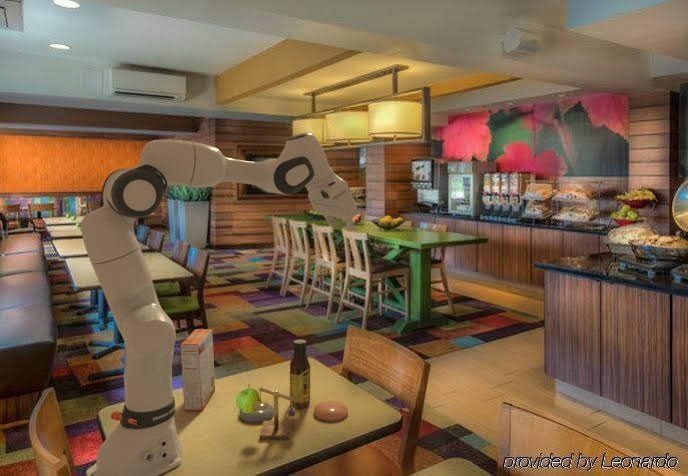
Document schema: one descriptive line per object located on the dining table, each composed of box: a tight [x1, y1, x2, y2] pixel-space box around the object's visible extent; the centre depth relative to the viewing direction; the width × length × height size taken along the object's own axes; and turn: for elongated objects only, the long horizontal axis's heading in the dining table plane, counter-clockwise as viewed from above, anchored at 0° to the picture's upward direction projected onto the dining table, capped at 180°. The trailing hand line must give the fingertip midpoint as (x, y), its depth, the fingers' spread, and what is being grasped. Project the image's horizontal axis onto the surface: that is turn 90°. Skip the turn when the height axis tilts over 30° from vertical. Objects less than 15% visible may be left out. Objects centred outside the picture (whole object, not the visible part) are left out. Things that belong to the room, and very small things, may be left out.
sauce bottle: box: [289, 338, 311, 409], centre depth 159 cm, size 7×6×20 cm
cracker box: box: [180, 328, 216, 412], centre depth 161 cm, size 14×6×21 cm, turn 178°
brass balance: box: [252, 387, 300, 441], centre depth 143 cm, size 13×8×13 cm, turn 90°
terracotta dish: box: [313, 400, 349, 422], centre depth 155 cm, size 10×10×1 cm
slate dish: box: [239, 403, 274, 424], centre depth 154 cm, size 10×10×1 cm
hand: (343, 227), depth 153 cm, fingers open, 8 cm apart
